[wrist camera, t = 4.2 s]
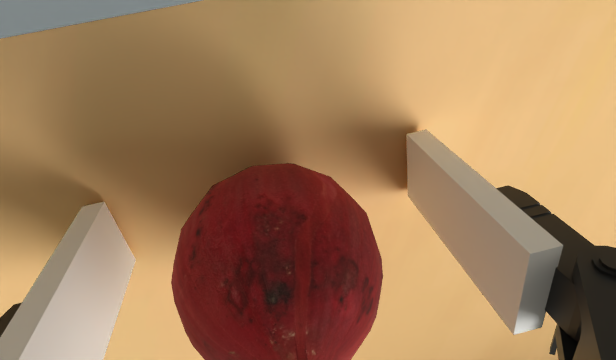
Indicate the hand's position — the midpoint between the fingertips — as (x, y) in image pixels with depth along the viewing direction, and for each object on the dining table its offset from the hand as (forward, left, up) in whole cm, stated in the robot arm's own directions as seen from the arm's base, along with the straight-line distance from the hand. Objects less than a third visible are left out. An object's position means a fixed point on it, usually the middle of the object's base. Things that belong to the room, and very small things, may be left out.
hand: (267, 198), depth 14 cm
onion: (0, 0, 0) cm, 0 cm away
